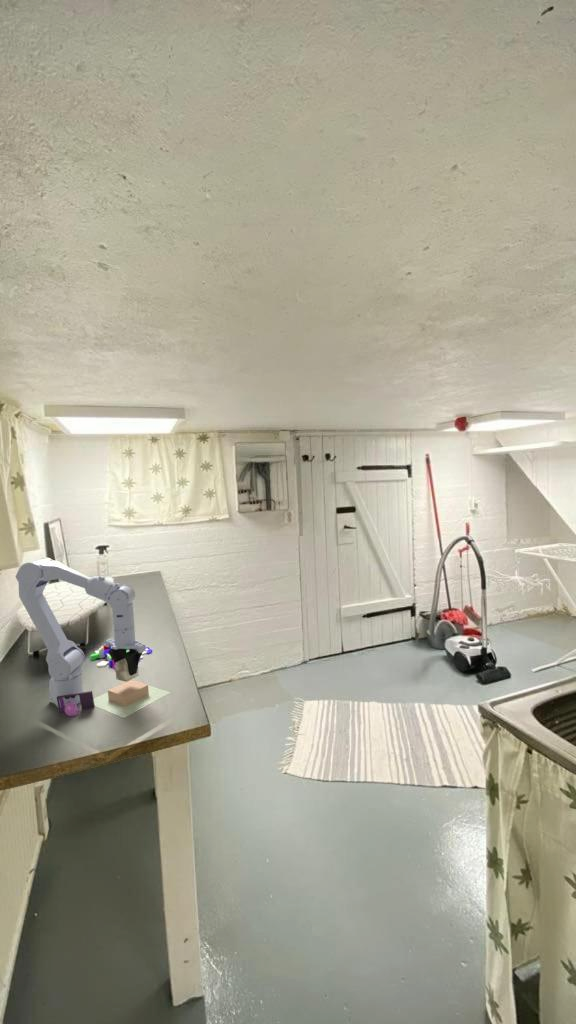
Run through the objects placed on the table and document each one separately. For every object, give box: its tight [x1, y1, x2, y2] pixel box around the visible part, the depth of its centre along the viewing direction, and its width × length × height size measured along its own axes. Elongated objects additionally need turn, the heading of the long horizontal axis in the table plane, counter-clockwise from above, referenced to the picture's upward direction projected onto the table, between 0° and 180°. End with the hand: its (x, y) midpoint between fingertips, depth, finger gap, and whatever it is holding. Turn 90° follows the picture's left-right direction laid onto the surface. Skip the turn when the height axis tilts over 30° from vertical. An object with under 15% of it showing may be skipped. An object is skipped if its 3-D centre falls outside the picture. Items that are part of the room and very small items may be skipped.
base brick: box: [107, 679, 149, 707], centre depth 123 cm, size 8×8×3 cm
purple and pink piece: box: [57, 690, 96, 717], centre depth 115 cm, size 7×5×9 cm
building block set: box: [89, 644, 153, 671], centre depth 159 cm, size 25×21×4 cm
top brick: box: [115, 658, 140, 683], centre depth 123 cm, size 4×4×5 cm
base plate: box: [93, 684, 171, 719], centre depth 123 cm, size 18×16×1 cm
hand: (127, 672), depth 123 cm, fingers closed on top brick, 4 cm apart
